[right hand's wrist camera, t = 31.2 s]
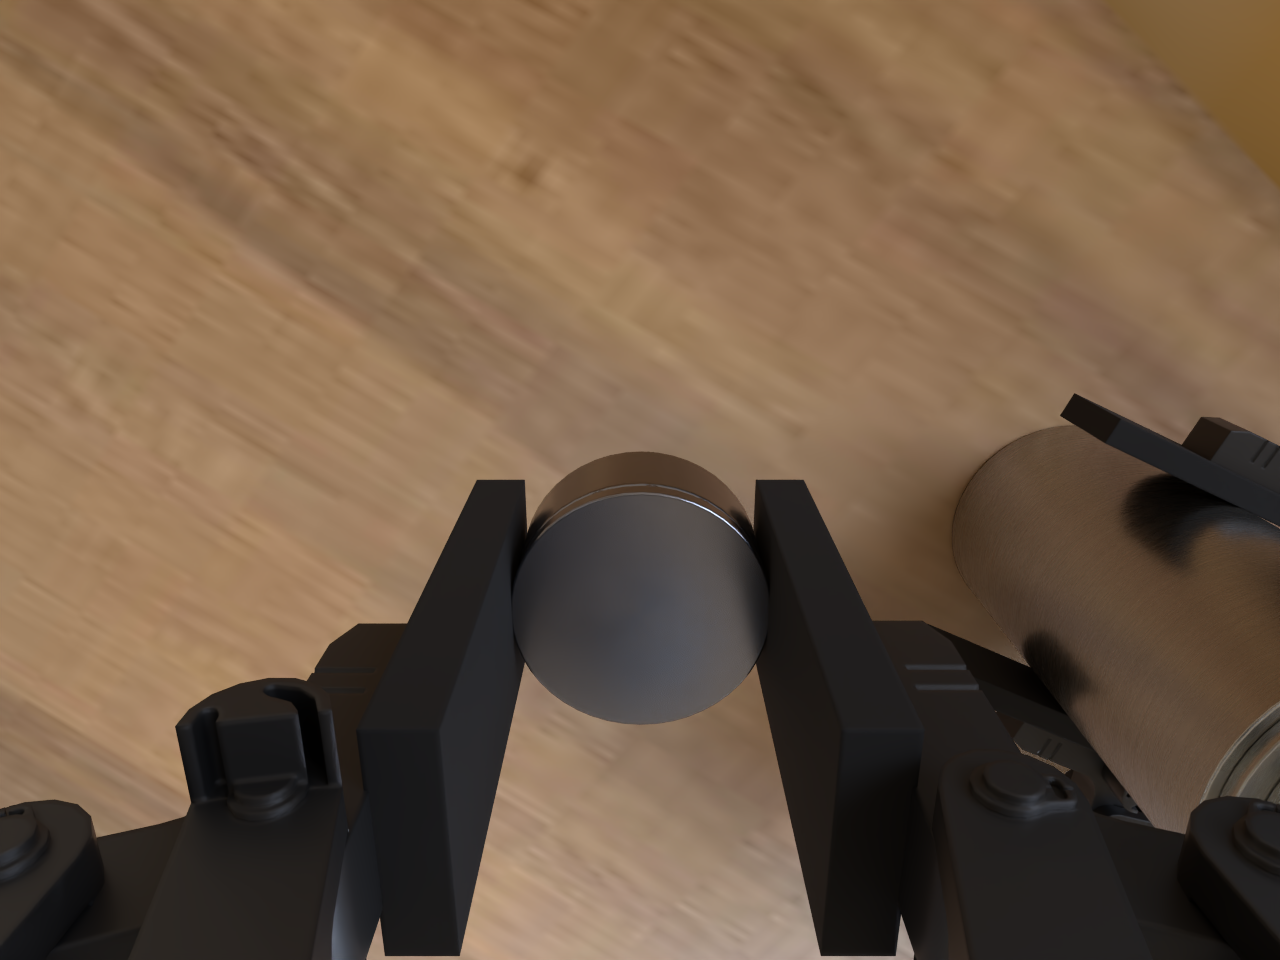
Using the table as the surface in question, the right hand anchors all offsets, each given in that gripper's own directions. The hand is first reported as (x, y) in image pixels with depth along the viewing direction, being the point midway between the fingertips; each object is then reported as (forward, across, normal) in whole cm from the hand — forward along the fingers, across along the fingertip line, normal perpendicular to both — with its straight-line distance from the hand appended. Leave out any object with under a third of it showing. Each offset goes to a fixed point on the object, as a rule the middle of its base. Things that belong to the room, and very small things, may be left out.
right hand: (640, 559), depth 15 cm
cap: (-2, 0, 0) cm, 2 cm away
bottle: (+17, +15, -7) cm, 24 cm away
